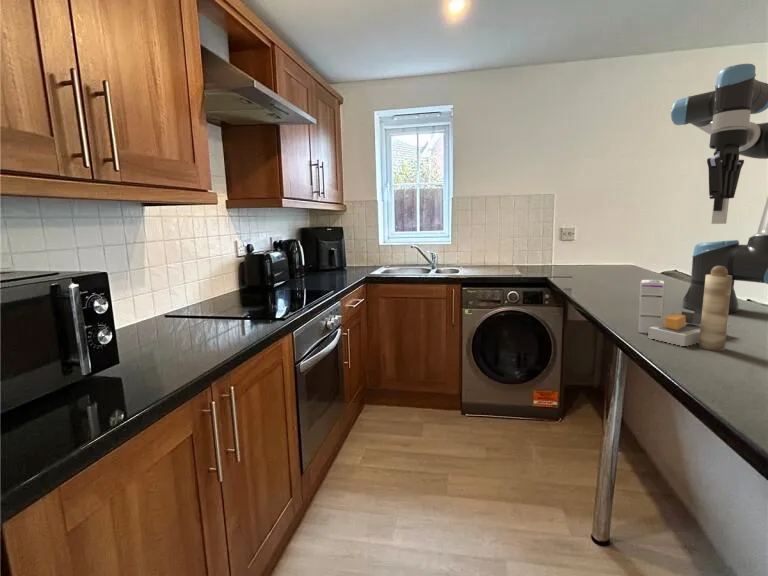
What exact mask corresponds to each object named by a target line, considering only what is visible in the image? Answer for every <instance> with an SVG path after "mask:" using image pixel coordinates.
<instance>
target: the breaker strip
mask: <svg viewBox="0 0 768 576" xmlns="http://www.w3.org/2000/svg"><path fill="white" fill-rule="evenodd" d="M700 327H701V321H700V325H696V324H690V323H686V326H684V327H682V328H680V329H678V330H674V329H670V328H665V323H664V324H663V323H662V325H658V326H654V327H649V330H648V334H647V339H648V338H649V339H648V340H652V339H655V340H654V341H656V340H659V341H658V342H660V341H664V342H667V343H666V344H669V343H671V344H670V345H673V344H676V345H675V346H677V345H680V346H679V347H681V346H687V347H689V346H688V345H691V346H693V345H692V344H694V345H697V344H696V343H698V344H699V337H700ZM729 329H730V324H729V323H727V330H726V337H727V335H728V336H729V331H730V330H729ZM664 342H663V343H664Z"/></svg>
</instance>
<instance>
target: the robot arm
mask: <svg viewBox="0 0 768 576" xmlns="http://www.w3.org/2000/svg"><path fill="white" fill-rule="evenodd" d="M756 76H757V74H756V65H754V64H753V63H739V64H735V65H730V66H727V67H725V68H723V69H721V70H720V71H719V72H718V74H717V76H716V81H715V86H714V88H715V90H712V91H708V92H702V93H698V94H694V95H688V96H687V97H682V98H680V99H678V100H676V101H675V102H673V104H672V106H671V111H670V118H671V121H672V123H673V124H674V125H676V126H683V125H684V126H686V125H688V124H691V125H693V126H695V127H696V128H698V129H700V130H701V131H704V132H705V133H706V134H708V135H710V138H709V139H710V140H709V145H708V146H709V148H710V149H712V150H714V152H713V156H712V157H710V158H707V159H706V164H707V167H708V195H709V199H710V200H713V205H712V214H711V216H712V217H711V224H712V225H713V224H714V225H715V224H716V225H718V224H719V225H720V224H723V225H724V224H725V225H727V219H728V211H729V202H730V199H734V198H735V196H736V191H737V187H738V183H739V178H740V175H741V170H742V168H743V166H744V163H745V159H740V156H743V157H747V158H751V159H758V160H759V159H760V160H767V159H768V121H767V122H761V123H755V122H754V121H753V122H752V121H751V115H756V114H760V113H762V112H764V111H766V110H767V109H768V83H767V82H764V81H760V80H757V79H756ZM760 218H761V219H760V220H759V221H760V222H759V225H758V229H757V232H756V233H755V234H753V235H751V236H750V237H749V238H748V241H747V243H746V244H740V242H739V241H740V240H738V239H733V240H732V239H730V240H721V241H720V240H719V241H707V242H699V243H697V244H696V245H695V246H694V248H693V254H692V261H691V262H692V263H691V273H690V274H691V276H690V285H689V287H688V290H687V291H686V293H685V296H684V297H683V299H682V308H685V309H688V310H691V311H695V309H700V310H702V307H703V297H704V287H705V277H706V275H707V274H711V270H712V268H713V267H715V266H724V267H725V268H726V269H727V270H728V274H727V275H730V276H732V284H731V293H730V303H729V312H728V314H731V313H736V312H739V307H740V306H739V301H738V298H737V293H736V291H735V281H739V282H751V283H758V284H759V283H762V284H766V285H768V196H767V198H766V201H765V205H764V208H763V211H762V215H761V217H760Z"/></svg>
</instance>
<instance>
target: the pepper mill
mask: <svg viewBox="0 0 768 576" xmlns="http://www.w3.org/2000/svg"><path fill="white" fill-rule="evenodd" d="M727 274H728V270H727V269H726V268H725V267H724V266H715V267H713V268H712V270H711V274H707V275H706V277H705V287H704V297H703V307H702V317H701V327H700V337H699V343H698V348H700V347H701V348H700V349H702V348H704V349H703V350H706V349H707V350H706V351H711V350H713V352H714V351H715V352H723V351H725V348H726V337H727V336H726V330H727V324H728V320H729V313H728V312H729V303H730V293H731V284H732V276H730V275H727ZM722 350H723V351H722Z"/></svg>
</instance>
